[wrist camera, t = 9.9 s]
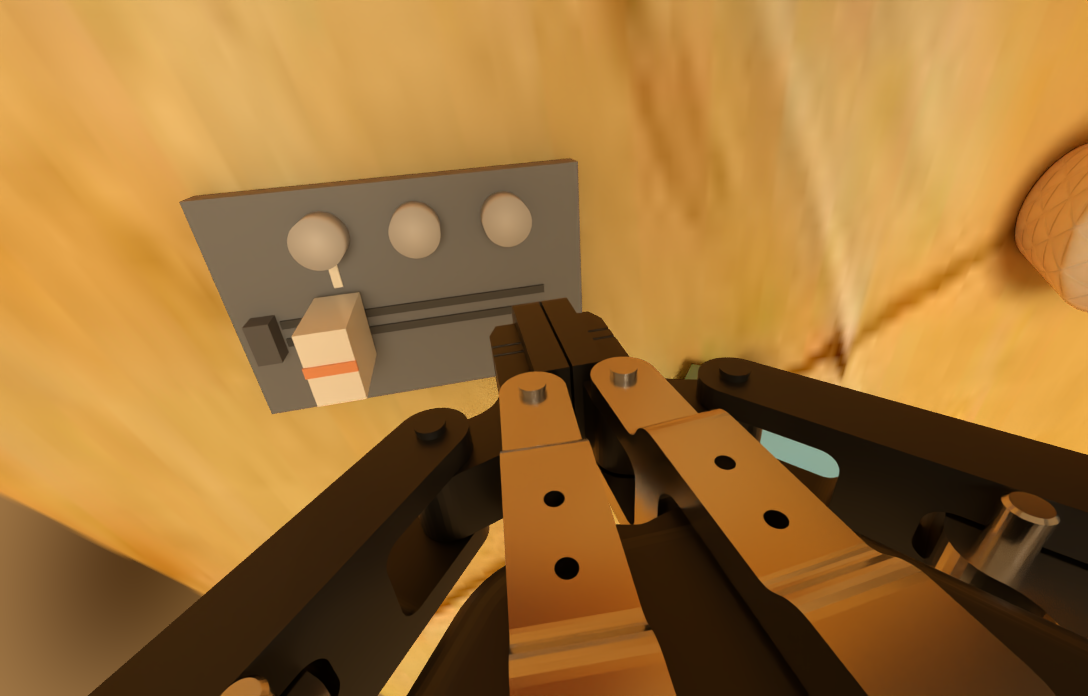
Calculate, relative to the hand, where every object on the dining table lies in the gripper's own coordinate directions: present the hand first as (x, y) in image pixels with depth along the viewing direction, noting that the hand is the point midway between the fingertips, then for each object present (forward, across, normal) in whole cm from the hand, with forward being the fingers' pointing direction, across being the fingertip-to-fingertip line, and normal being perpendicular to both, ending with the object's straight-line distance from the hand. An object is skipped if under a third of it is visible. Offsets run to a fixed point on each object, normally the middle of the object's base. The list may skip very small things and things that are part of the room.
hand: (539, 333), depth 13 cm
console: (+24, +6, +7) cm, 25 cm away
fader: (+21, +11, +8) cm, 25 cm away
